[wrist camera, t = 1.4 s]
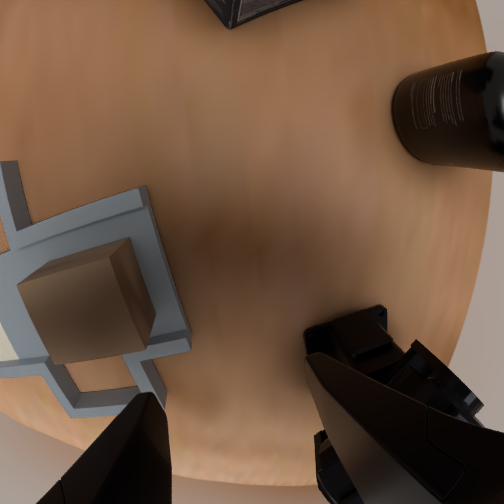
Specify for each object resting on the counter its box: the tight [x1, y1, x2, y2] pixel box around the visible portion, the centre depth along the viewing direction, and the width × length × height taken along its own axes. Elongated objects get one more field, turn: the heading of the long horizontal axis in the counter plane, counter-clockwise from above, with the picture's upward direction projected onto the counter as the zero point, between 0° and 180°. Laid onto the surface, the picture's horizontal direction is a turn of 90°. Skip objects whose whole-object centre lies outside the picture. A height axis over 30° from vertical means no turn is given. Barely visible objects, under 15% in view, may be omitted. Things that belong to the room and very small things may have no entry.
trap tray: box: [0, 161, 192, 418], centre depth 17 cm, size 20×19×2 cm
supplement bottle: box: [394, 51, 504, 172], centre depth 12 cm, size 7×7×12 cm
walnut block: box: [16, 237, 156, 365], centre depth 15 cm, size 5×6×4 cm
